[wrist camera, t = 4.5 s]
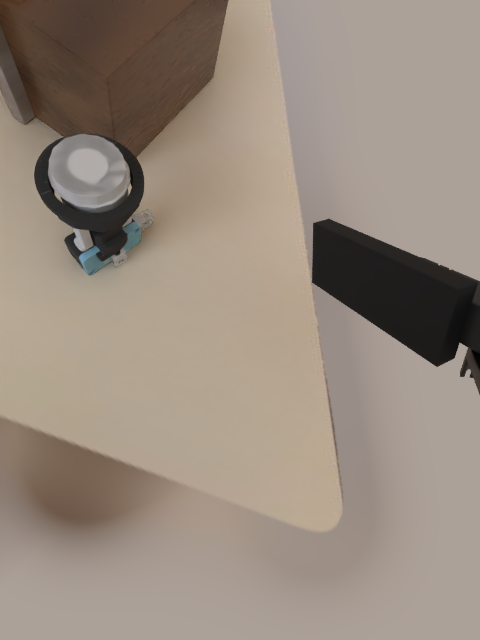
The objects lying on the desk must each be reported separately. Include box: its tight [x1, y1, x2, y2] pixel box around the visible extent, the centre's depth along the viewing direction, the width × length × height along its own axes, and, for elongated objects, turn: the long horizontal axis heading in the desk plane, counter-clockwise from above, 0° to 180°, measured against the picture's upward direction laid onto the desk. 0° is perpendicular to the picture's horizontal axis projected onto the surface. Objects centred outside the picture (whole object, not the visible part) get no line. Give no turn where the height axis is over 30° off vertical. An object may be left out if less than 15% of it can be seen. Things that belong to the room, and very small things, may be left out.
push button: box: [34, 133, 153, 275], centre depth 23 cm, size 7×5×10 cm
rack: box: [0, 0, 228, 157], centre depth 26 cm, size 9×16×12 cm, turn 149°
